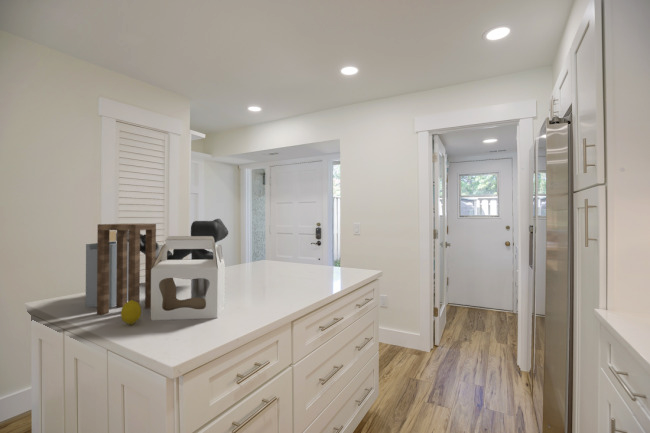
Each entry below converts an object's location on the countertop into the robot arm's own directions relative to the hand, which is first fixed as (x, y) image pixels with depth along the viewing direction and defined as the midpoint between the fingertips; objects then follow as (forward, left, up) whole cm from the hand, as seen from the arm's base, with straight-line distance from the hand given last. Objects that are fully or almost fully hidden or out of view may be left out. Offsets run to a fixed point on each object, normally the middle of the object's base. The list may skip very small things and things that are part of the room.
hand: (129, 232), depth 138 cm
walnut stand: (-14, +21, -28) cm, 37 cm away
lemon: (-26, +36, -28) cm, 52 cm away
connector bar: (0, +5, -3) cm, 6 cm away
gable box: (-39, +23, -28) cm, 53 cm away
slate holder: (0, +11, -28) cm, 30 cm away
